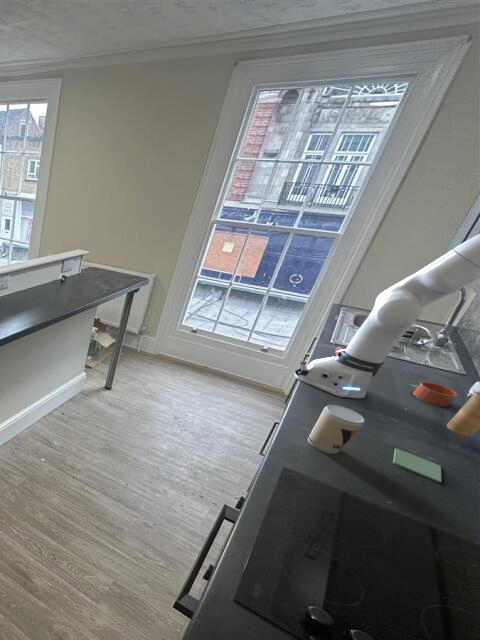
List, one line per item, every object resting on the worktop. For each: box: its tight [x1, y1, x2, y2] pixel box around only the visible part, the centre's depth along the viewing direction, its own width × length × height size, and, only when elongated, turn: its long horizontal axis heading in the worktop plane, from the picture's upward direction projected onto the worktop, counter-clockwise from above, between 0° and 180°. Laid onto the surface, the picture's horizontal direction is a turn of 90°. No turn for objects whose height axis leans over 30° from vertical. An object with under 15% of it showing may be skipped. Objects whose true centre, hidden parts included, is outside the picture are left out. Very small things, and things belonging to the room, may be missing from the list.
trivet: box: [392, 447, 443, 484], centre depth 116 cm, size 10×10×1 cm
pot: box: [412, 381, 459, 407], centre depth 151 cm, size 10×10×5 cm
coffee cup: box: [307, 404, 365, 455], centre depth 118 cm, size 9×9×12 cm
